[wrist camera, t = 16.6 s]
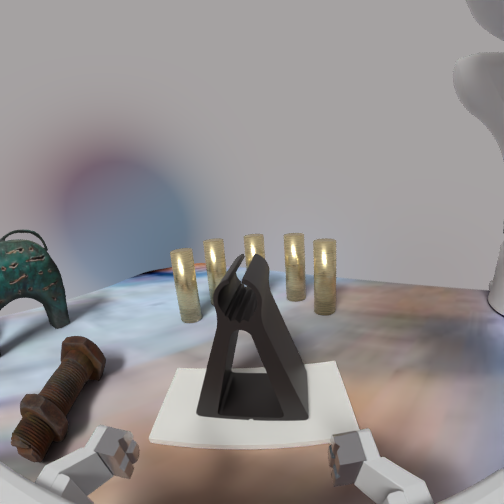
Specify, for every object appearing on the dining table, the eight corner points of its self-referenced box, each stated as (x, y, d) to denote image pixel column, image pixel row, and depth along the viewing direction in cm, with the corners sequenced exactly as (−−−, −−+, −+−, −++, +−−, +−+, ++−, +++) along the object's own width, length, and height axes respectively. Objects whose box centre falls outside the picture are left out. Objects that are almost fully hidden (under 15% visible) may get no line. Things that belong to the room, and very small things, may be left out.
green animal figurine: (-21, 371, 22) (-64, 227, 17) (-25, 355, 25) (-61, 228, 20) (78, 324, 38) (52, 198, 34) (63, 315, 41) (40, 202, 37)
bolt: (41, 476, 12) (91, 380, 27) (64, 474, 12) (116, 366, 26) (-10, 431, 11) (57, 344, 25) (3, 422, 10) (79, 325, 25)
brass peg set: (323, 288, 47) (322, 229, 45) (337, 314, 37) (338, 242, 35) (194, 296, 48) (186, 239, 46) (179, 323, 39) (167, 254, 36)
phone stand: (307, 375, 25) (307, 250, 22) (308, 420, 19) (312, 276, 16) (213, 374, 26) (195, 255, 23) (196, 415, 20) (165, 280, 17)
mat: (334, 365, 26) (334, 360, 26) (359, 437, 17) (360, 433, 17) (178, 372, 27) (177, 368, 27) (150, 442, 18) (148, 438, 17)
